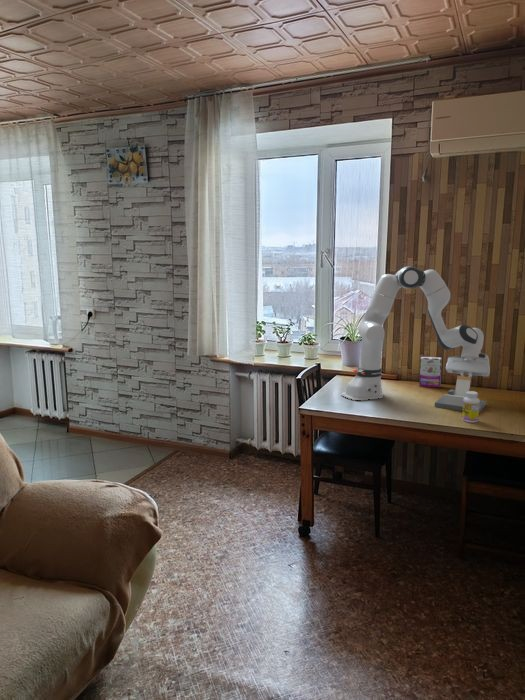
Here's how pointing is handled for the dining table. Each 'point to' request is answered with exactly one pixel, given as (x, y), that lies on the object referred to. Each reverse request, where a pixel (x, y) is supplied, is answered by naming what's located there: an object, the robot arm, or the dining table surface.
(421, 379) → the candy bar box
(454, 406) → the breaker housing
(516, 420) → the dining table surface
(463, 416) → the supplement bottle
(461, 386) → the breaker lever
